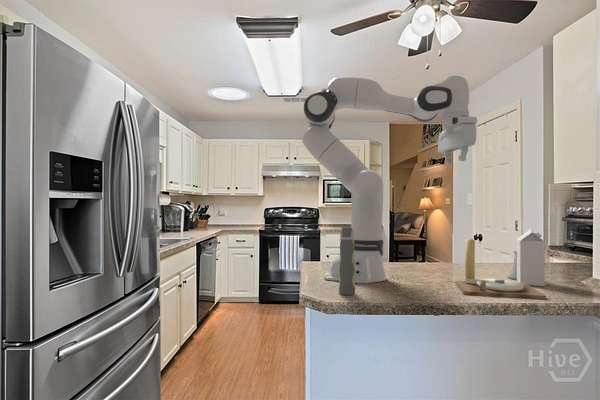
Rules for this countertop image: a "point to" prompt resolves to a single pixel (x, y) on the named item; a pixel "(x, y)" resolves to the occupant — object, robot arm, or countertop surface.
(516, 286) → the white and beige stand
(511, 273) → the flask
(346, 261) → the grey upright post
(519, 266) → the milk carton
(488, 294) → the base board
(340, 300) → the countertop surface
